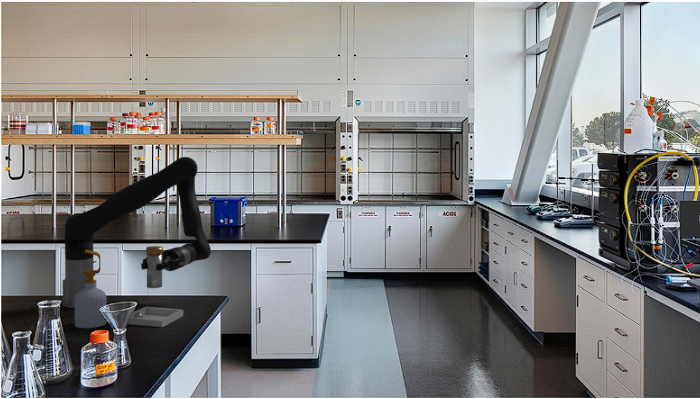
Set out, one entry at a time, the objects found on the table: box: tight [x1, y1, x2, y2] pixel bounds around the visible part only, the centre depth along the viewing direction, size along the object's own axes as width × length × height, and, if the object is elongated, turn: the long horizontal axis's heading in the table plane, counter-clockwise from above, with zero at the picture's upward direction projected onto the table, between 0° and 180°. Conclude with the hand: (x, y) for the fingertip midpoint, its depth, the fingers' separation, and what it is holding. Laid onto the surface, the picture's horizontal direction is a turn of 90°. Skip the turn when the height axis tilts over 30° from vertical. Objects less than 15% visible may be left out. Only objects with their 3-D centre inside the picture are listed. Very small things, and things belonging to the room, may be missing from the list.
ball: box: [133, 312, 143, 318], centre depth 186 cm, size 3×3×3 cm
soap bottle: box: [74, 250, 107, 329], centre depth 181 cm, size 9×9×25 cm
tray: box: [127, 306, 184, 328], centre depth 188 cm, size 14×14×3 cm
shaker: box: [145, 245, 164, 289], centre depth 188 cm, size 5×5×13 cm
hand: (150, 266), depth 185 cm, fingers closed on shaker, 4 cm apart
